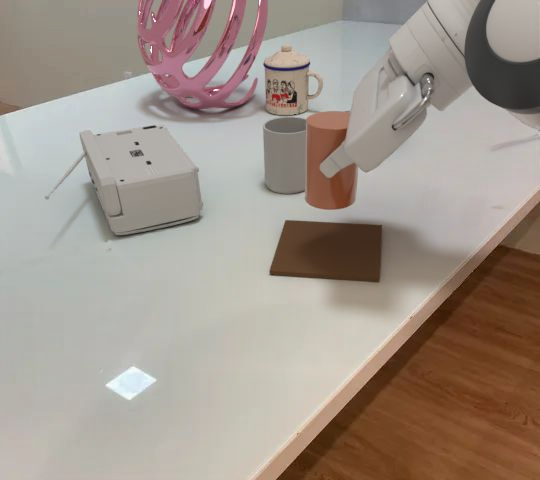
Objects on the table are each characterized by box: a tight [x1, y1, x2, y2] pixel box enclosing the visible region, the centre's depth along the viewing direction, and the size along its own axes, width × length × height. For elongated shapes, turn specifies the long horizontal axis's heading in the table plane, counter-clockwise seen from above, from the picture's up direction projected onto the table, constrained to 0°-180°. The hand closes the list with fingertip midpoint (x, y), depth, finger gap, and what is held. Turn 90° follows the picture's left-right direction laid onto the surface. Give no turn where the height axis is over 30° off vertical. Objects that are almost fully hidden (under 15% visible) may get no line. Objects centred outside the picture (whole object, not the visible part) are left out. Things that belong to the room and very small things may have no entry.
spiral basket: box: [136, 0, 269, 110], centre depth 110 cm, size 28×28×27 cm
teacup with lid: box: [262, 43, 324, 116], centre depth 109 cm, size 12×9×12 cm
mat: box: [269, 219, 383, 283], centre depth 70 cm, size 13×13×1 cm
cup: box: [262, 116, 307, 195], centre depth 83 cm, size 7×10×9 cm
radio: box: [44, 124, 204, 236], centre depth 80 cm, size 21×8×20 cm
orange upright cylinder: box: [304, 110, 359, 211], centre depth 63 cm, size 6×6×9 cm
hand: (327, 158), depth 63 cm, fingers closed on orange upright cylinder, 6 cm apart
